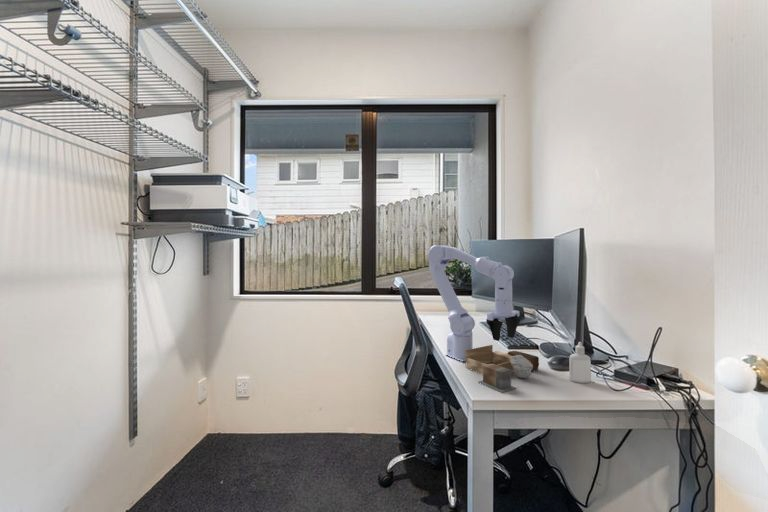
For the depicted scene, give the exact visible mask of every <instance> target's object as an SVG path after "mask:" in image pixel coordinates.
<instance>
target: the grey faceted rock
mask: <svg viewBox="0 0 768 512" xmlns="http://www.w3.org/2000/svg"><path fill="white" fill-rule="evenodd" d="M510 361H511V365H512V367H513V368H514V372H513V373H515V375H516V376H517V377H518V378H519V379H527V378H528V377H530V376H531V374H532V372H531V370H532V369H533V365H532V363H531V362H530V361H529V360H527V359H526V358H524V356H522V355H515V356H513V357H511V358H510Z"/></svg>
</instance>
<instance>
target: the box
mask: <svg viewBox="0 0 768 512" xmlns="http://www.w3.org/2000/svg"><path fill="white" fill-rule="evenodd" d="M482 380H483V382H484V383H487V384H489V385H491V386H494V387H496V388H498V389H501V390H503V389H506V388H509V387H511V386H512V372H511V370H510V369H507V368H504V367H501V366H498V364H496V363H493V362H491V363H487V365H483V374H482Z"/></svg>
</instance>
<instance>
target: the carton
mask: <svg viewBox="0 0 768 512" xmlns="http://www.w3.org/2000/svg"><path fill="white" fill-rule="evenodd" d="M493 350H494V349H493V344H489V345H485V346H480V347H476V348H475V347H474V348H473V349H469V350H466V361H465V362H466V364H465V366H466V367H467V368H466V369H468V368H470V369H472V370H471V371H473V370H474V371H473V372H475V371H477V372H476V373H478V372H479V373H478V374H480V373H481V374H480V375H483V365H487V364H491V363H493V364H496V365H498V366H501V367H504V368H507V369H510V370H511V373H515V372H514V368H513V367H512V365H511V361H510V358H511V357H513V356H512V355H509V354H508V353H505V352H501V351H498V350H496V351H493ZM486 363H487V364H486ZM470 369H469V370H470Z"/></svg>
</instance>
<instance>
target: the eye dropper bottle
mask: <svg viewBox="0 0 768 512" xmlns="http://www.w3.org/2000/svg"><path fill="white" fill-rule="evenodd" d="M574 350H575V353H572V354H570V355H569V361H568V362H569V365H568V366H569V367H568V370H569V371H568V372H569V375H568V376H569V380H570V381H571V382H573V383H578V384H589V383H591V381H592V373H591V372H592V371H591V370H592V369H591V367H592V363H591V357H590V356H589V355H587V354H585V346H583V343H582V342H581V341H578V344H577V345H575V349H574Z"/></svg>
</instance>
